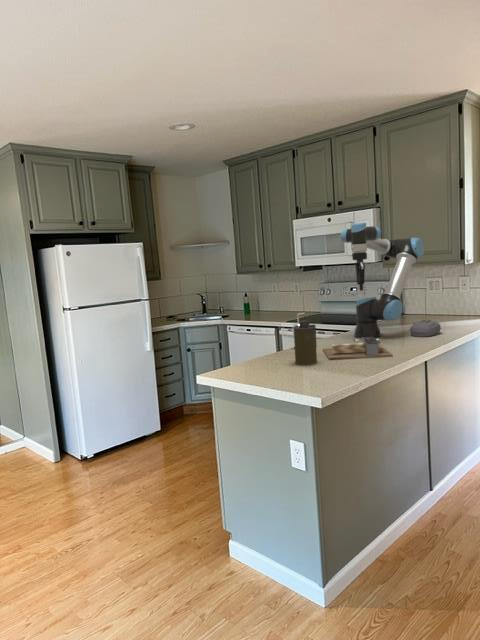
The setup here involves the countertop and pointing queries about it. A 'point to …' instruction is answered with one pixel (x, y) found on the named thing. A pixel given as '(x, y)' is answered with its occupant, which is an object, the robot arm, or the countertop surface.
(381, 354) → the base plate
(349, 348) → the link
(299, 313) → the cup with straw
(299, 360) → the canister
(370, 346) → the block
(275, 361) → the countertop surface
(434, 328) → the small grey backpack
